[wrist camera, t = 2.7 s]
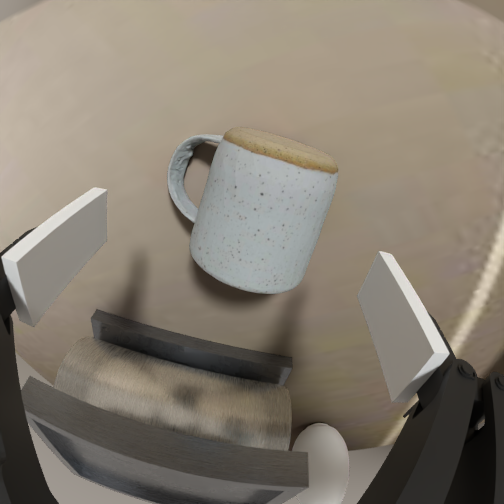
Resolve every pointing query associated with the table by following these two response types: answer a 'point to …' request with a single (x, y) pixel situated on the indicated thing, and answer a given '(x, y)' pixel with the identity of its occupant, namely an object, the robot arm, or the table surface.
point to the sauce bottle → (324, 464)
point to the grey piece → (170, 417)
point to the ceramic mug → (256, 207)
